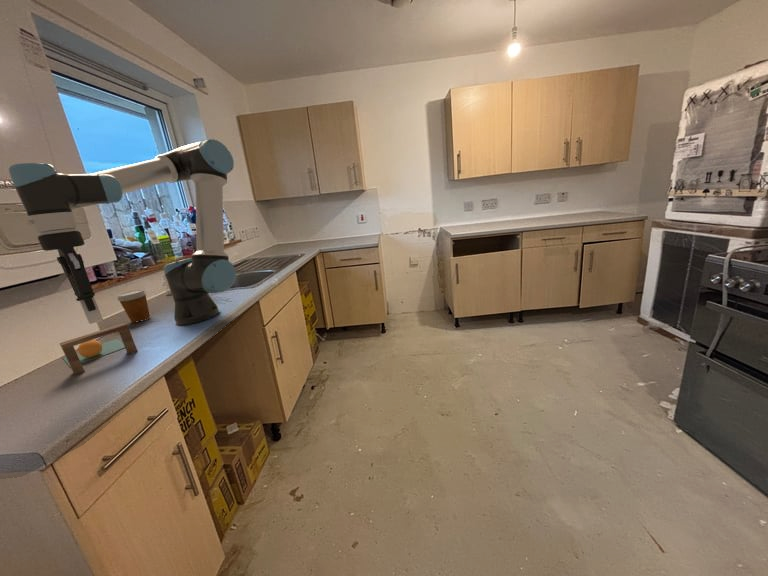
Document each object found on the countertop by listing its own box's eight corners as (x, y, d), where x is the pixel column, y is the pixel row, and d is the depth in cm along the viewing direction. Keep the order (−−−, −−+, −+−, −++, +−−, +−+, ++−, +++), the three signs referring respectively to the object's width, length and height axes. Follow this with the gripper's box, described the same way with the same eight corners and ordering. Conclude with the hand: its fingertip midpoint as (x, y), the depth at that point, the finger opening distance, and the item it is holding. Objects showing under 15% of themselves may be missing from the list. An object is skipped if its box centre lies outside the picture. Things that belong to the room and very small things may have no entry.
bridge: (73, 372, 87) (59, 343, 85) (134, 349, 98) (124, 322, 96) (75, 375, 86) (61, 345, 83) (137, 351, 96) (127, 324, 94)
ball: (106, 349, 97) (105, 353, 100) (97, 334, 96) (95, 339, 100) (84, 358, 92) (83, 363, 96) (74, 343, 92) (73, 347, 96)
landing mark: (116, 339, 110) (116, 338, 110) (128, 346, 101) (128, 346, 101) (62, 357, 99) (62, 357, 99) (70, 367, 91) (70, 367, 91)
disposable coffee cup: (139, 324, 124) (128, 295, 120) (120, 325, 126) (109, 297, 122) (160, 315, 132) (150, 288, 129) (142, 316, 135) (132, 289, 131)
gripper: (33, 235, 76) (72, 323, 83) (39, 233, 68) (82, 331, 75) (73, 230, 82) (107, 313, 89) (84, 228, 74) (120, 319, 81)
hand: (96, 321), depth 82 cm, fingers closed
